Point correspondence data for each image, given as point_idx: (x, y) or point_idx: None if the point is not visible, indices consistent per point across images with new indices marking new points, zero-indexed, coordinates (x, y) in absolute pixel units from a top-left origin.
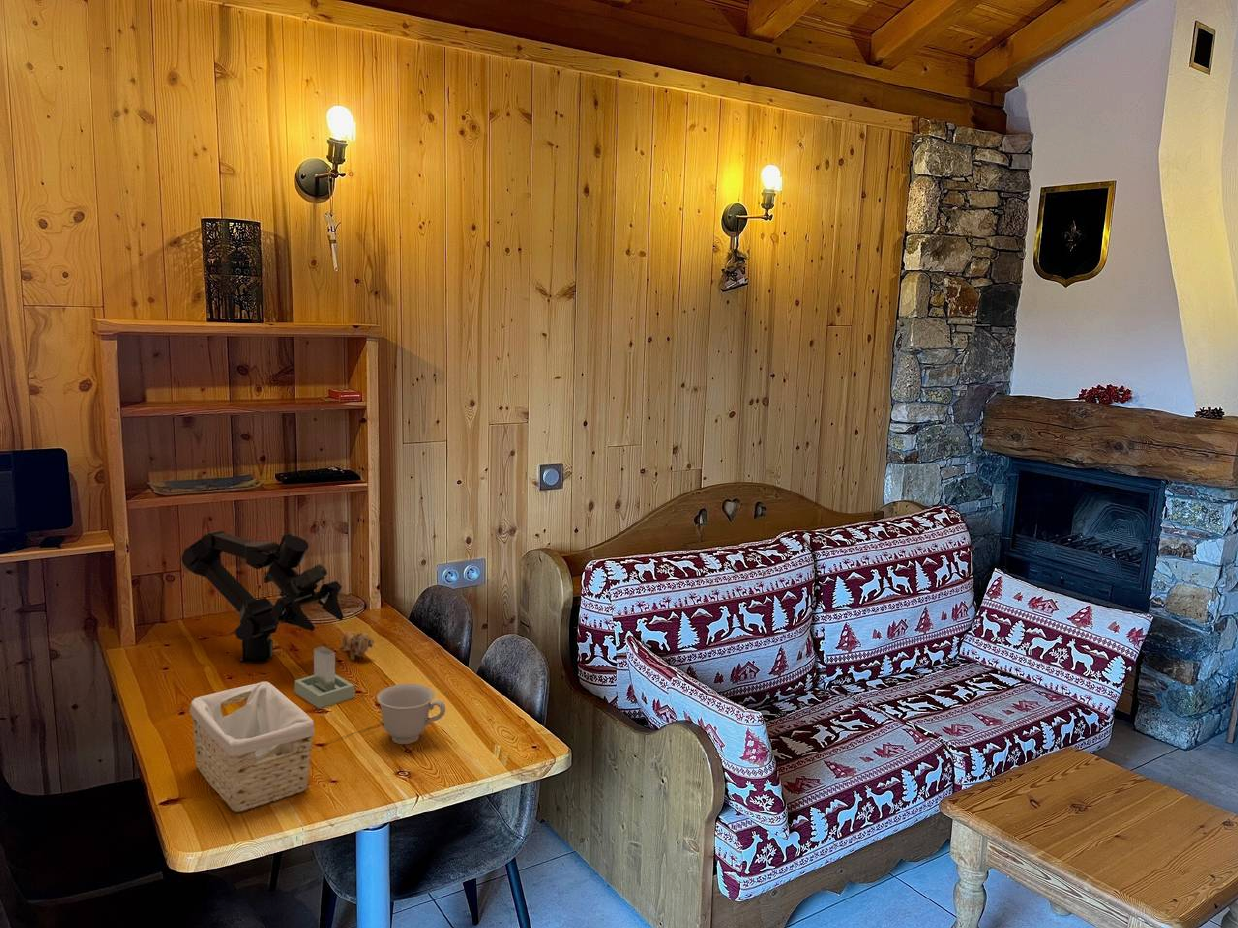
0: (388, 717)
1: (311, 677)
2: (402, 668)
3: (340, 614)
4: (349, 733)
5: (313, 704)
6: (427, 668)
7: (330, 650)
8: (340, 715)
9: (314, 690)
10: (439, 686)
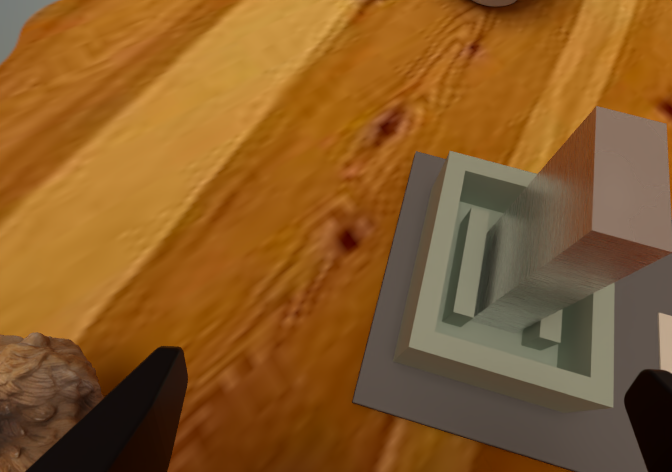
0: None
1: (526, 361)
2: (63, 237)
3: (163, 381)
4: (573, 90)
5: None
6: (27, 160)
7: (599, 144)
8: None
9: None
10: (165, 57)
